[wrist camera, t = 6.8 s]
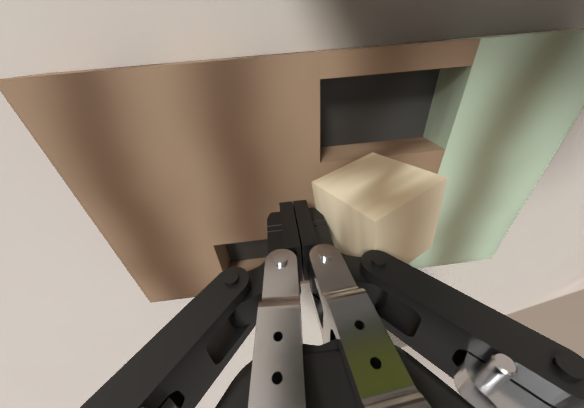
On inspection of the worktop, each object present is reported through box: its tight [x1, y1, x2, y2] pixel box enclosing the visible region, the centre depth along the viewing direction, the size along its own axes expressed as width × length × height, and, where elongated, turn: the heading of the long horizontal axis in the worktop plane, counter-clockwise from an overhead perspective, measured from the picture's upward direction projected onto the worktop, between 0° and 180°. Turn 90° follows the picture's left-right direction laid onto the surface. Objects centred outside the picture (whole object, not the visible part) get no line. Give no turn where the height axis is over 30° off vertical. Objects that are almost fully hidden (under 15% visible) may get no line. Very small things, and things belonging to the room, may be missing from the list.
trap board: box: [0, 28, 584, 302], centre depth 15 cm, size 27×15×2 cm, turn 94°
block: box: [312, 152, 448, 264], centre depth 11 cm, size 4×4×4 cm
